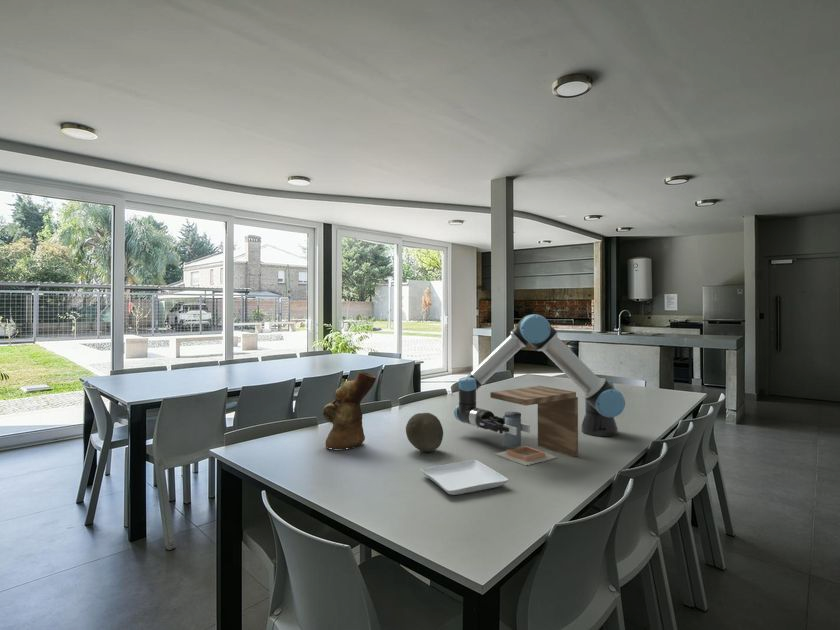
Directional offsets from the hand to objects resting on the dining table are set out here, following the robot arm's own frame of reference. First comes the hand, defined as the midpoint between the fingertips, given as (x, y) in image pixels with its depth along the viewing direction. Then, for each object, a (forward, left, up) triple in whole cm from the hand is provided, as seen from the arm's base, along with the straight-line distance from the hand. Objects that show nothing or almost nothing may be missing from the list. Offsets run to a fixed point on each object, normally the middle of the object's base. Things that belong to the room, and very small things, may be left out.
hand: (522, 430), depth 175 cm
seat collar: (-1, +1, -10) cm, 10 cm away
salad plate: (+35, +9, -10) cm, 38 cm away
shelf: (-3, +3, -10) cm, 10 cm away
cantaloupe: (+27, -25, -10) cm, 38 cm away
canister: (0, -5, -7) cm, 8 cm away
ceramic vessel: (+47, -50, -10) cm, 70 cm away
